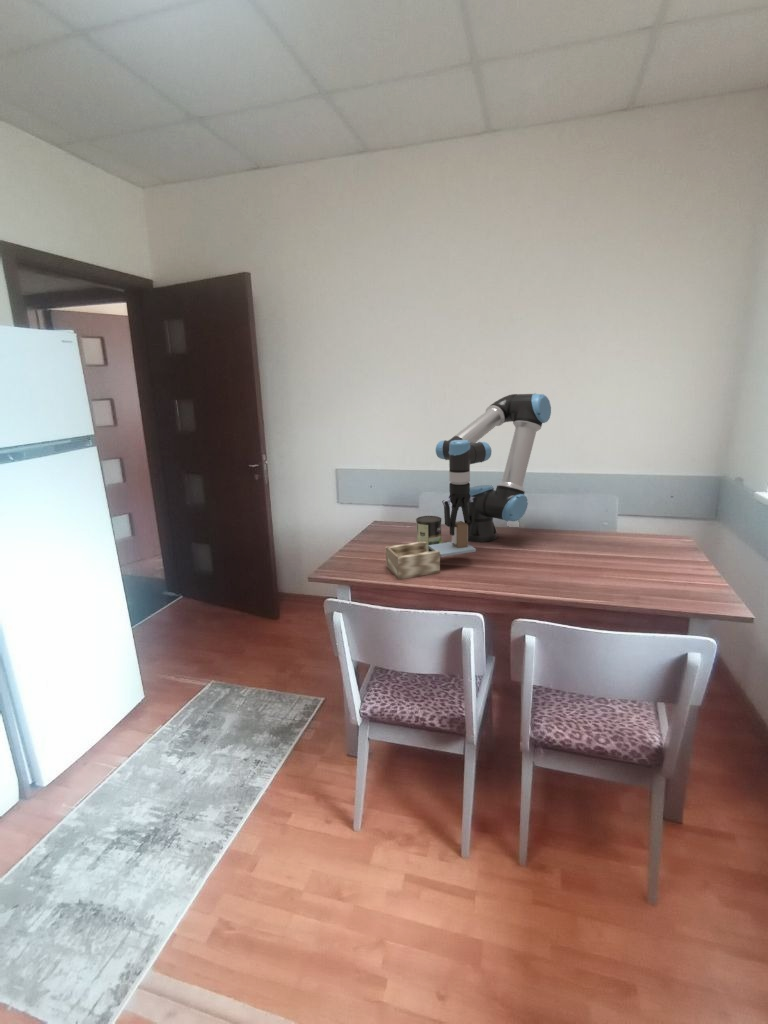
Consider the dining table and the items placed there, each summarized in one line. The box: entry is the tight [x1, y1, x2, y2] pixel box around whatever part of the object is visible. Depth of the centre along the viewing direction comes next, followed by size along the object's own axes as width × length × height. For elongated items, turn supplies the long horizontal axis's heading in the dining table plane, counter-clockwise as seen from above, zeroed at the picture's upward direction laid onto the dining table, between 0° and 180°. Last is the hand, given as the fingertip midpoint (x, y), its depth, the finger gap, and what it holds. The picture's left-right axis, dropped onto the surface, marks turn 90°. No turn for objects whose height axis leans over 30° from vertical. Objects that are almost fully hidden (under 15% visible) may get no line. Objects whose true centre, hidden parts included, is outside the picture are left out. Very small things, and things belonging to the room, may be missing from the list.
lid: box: [428, 520, 477, 558], centre depth 183 cm, size 14×12×10 cm
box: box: [385, 541, 441, 580], centre depth 179 cm, size 16×14×8 cm
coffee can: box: [415, 515, 442, 552], centre depth 198 cm, size 10×10×14 cm
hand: (459, 542), depth 185 cm, fingers closed on lid, 4 cm apart
